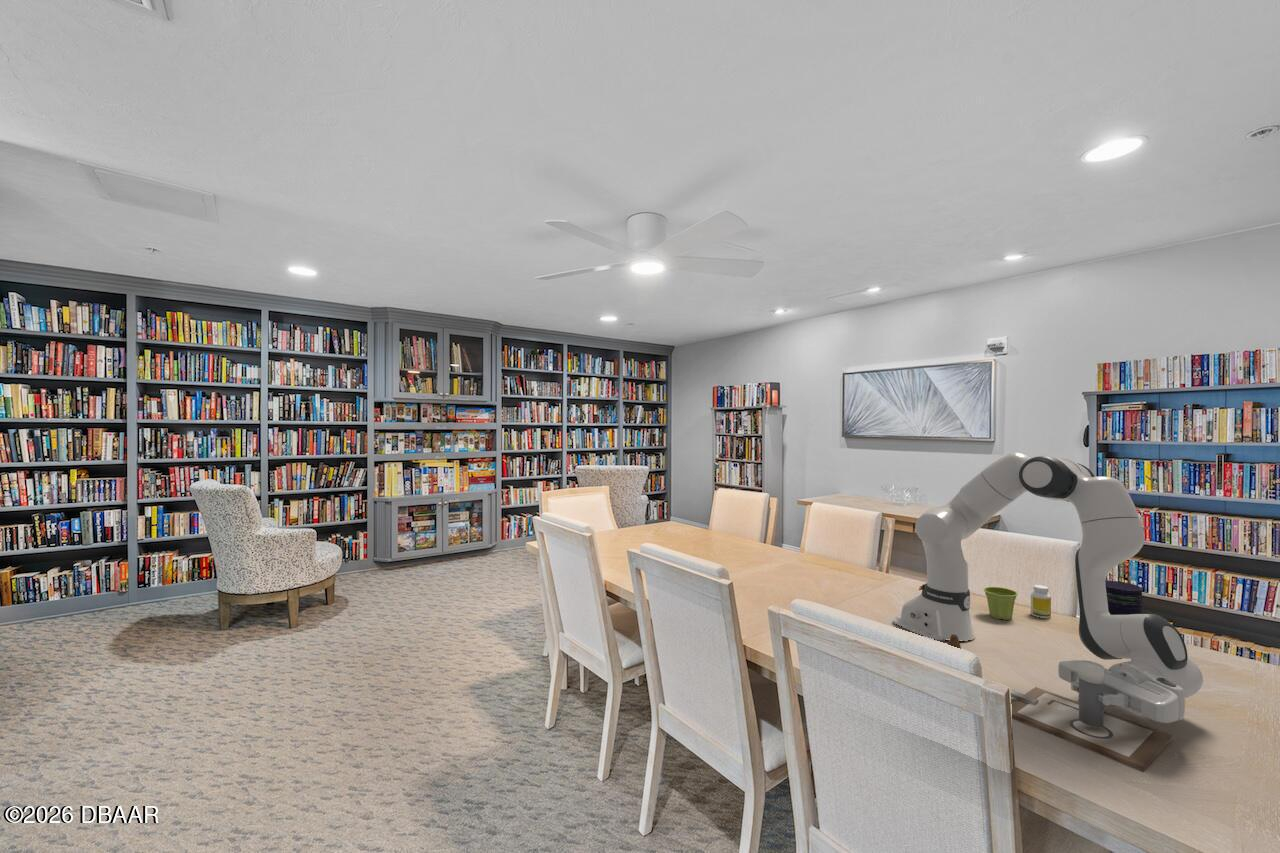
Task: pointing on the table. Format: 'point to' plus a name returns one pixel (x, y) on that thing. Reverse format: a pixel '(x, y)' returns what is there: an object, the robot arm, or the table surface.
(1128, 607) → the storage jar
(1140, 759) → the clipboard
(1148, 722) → the table surface
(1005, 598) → the plant pot
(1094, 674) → the marker
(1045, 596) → the supplement bottle
